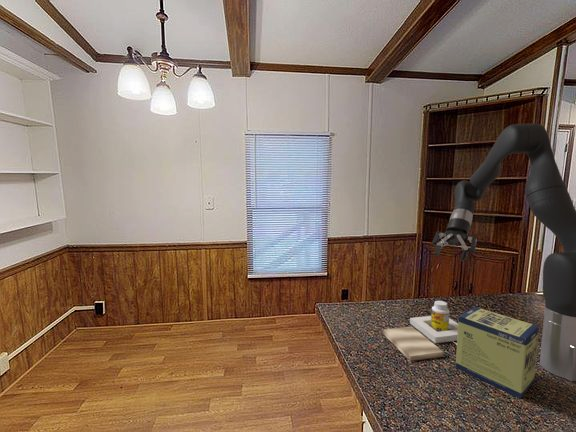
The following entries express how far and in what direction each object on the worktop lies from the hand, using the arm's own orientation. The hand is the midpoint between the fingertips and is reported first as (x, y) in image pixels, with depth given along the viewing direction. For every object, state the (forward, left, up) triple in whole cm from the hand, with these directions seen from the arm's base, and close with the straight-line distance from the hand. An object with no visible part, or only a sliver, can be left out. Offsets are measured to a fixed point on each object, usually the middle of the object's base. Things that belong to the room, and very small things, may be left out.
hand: (449, 257), depth 109 cm
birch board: (-13, +23, -24) cm, 36 cm away
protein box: (-31, +10, -24) cm, 41 cm away
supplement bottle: (-7, +8, -24) cm, 27 cm away
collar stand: (-7, +8, -24) cm, 26 cm away
